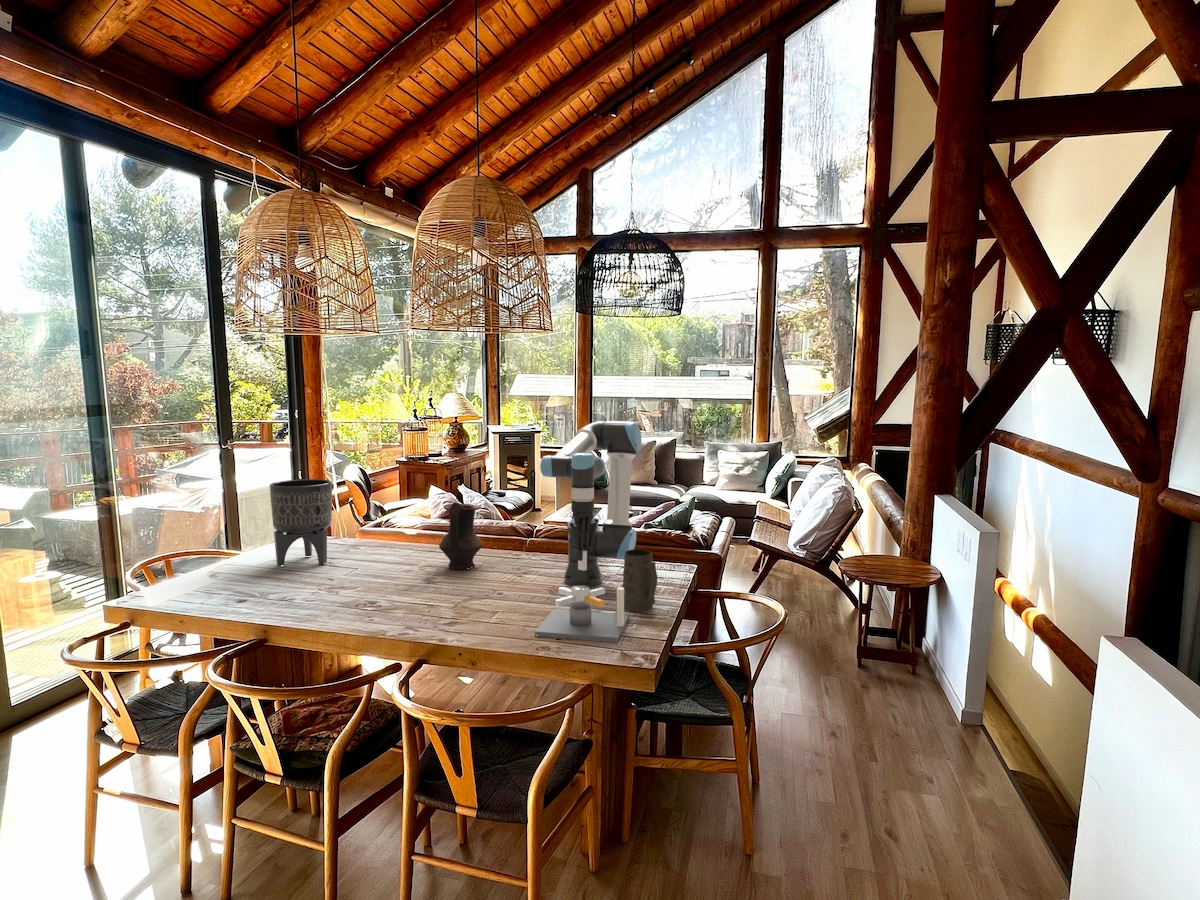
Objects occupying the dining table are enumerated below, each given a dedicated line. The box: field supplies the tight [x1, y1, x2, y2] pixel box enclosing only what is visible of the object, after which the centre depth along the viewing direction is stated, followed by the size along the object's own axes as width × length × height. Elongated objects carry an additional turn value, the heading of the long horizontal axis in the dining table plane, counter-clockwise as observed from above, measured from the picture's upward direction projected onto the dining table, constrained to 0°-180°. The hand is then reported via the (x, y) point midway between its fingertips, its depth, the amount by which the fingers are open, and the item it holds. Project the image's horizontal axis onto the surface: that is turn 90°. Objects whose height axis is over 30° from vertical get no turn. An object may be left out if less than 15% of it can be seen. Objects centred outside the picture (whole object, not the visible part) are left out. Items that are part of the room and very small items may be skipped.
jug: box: [438, 501, 484, 570], centre depth 290 cm, size 21×18×30 cm
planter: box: [269, 478, 333, 567], centre depth 298 cm, size 25×25×36 cm
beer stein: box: [622, 548, 658, 612], centre depth 238 cm, size 15×11×20 cm
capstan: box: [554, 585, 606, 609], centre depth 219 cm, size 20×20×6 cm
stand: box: [534, 586, 630, 643], centre depth 219 cm, size 22×26×14 cm
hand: (582, 569), depth 228 cm, fingers closed
